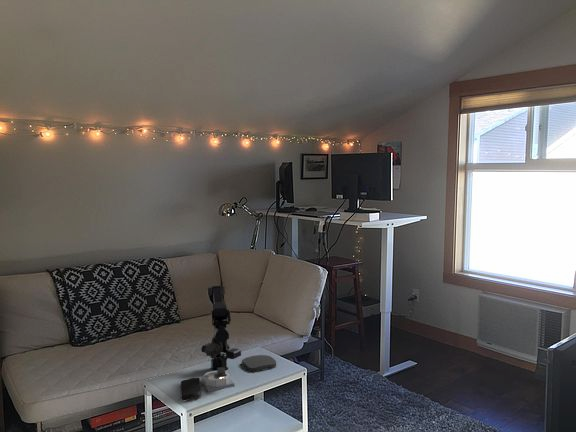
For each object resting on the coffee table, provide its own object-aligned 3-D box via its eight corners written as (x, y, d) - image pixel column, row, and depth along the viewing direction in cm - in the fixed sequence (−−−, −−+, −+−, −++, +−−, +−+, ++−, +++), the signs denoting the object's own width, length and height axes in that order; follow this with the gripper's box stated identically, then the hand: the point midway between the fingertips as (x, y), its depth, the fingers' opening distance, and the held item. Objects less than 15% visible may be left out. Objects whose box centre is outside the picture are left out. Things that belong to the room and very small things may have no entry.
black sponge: (202, 400, 206) (201, 391, 206) (181, 402, 204) (180, 394, 204) (199, 384, 222) (199, 376, 222) (180, 387, 220) (179, 378, 220)
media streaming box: (239, 363, 246) (239, 357, 246) (267, 358, 252) (266, 352, 252) (250, 373, 233) (250, 367, 233) (279, 368, 239) (278, 362, 239)
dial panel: (224, 376, 230) (223, 367, 229) (234, 386, 219) (234, 376, 218) (198, 381, 224) (198, 372, 224) (208, 392, 213) (207, 382, 213)
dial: (225, 376, 226) (225, 363, 225) (225, 383, 218) (225, 370, 217) (207, 377, 225) (207, 364, 224) (206, 384, 217) (206, 371, 216)
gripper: (192, 336, 221) (193, 371, 222) (224, 343, 210) (225, 380, 212) (209, 330, 230) (210, 363, 231) (241, 336, 220) (242, 371, 221)
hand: (221, 369), depth 224 cm, fingers closed
